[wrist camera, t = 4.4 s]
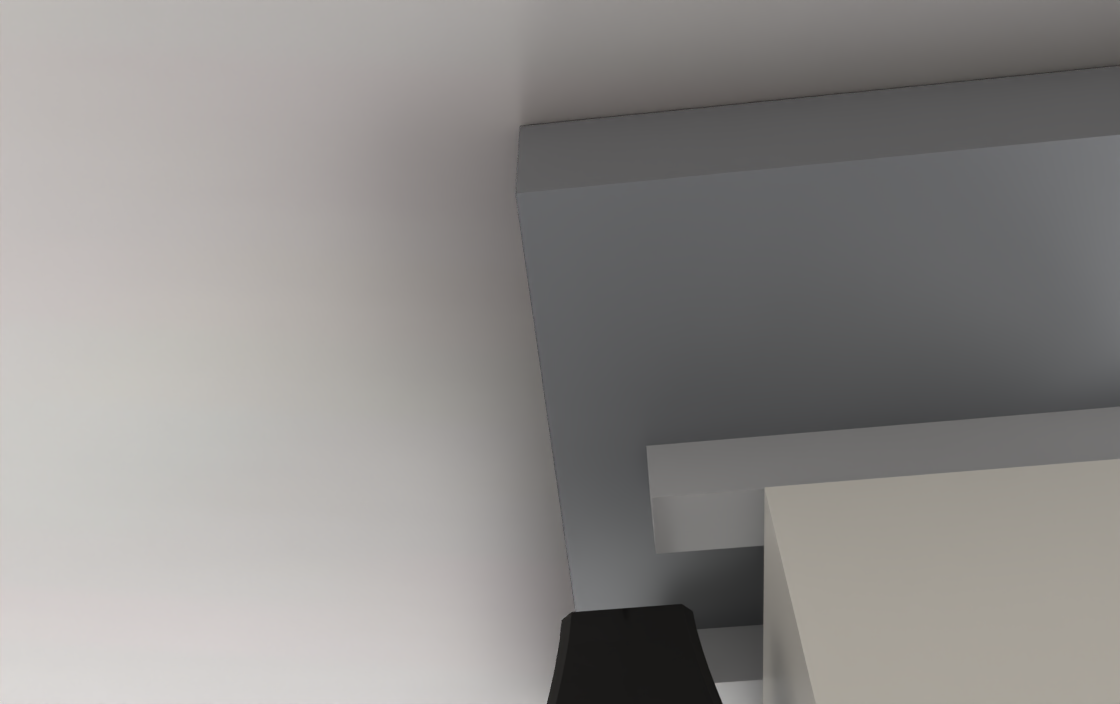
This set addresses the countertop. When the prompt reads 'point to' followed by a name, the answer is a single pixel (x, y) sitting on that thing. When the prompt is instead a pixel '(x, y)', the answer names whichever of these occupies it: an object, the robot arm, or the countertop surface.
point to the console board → (812, 317)
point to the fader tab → (945, 588)
